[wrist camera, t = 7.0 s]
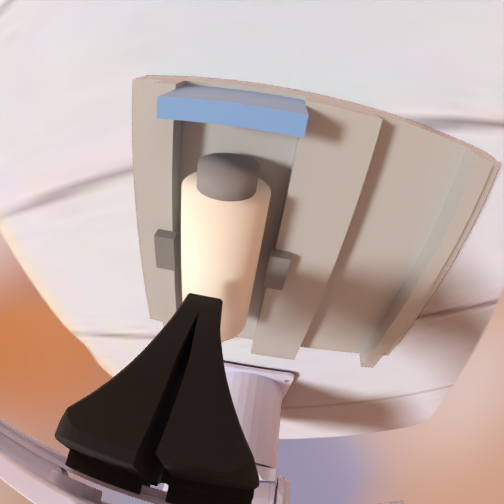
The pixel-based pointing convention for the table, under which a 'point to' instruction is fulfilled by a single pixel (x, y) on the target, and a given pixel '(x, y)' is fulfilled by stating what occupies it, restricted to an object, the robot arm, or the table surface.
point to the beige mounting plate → (310, 207)
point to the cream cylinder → (223, 233)
